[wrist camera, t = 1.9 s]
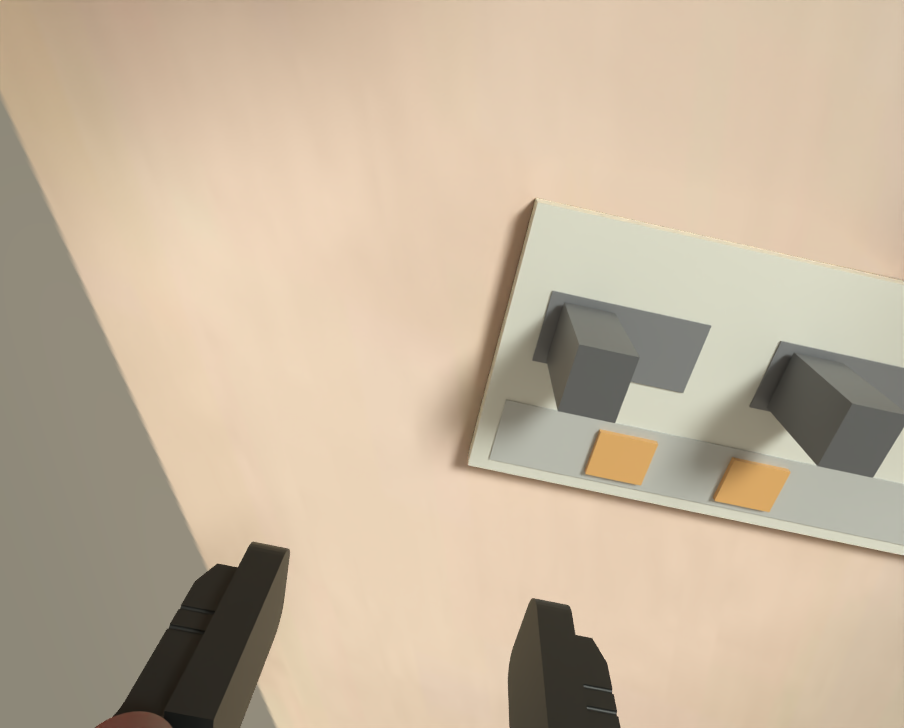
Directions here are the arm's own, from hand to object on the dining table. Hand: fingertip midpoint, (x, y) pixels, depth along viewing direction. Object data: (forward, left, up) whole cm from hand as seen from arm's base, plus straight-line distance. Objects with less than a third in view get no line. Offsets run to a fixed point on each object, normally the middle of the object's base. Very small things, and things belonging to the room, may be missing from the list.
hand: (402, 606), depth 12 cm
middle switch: (0, +17, -18) cm, 25 cm away
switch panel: (+2, +19, -19) cm, 27 cm away
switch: (0, +6, -18) cm, 19 cm away
